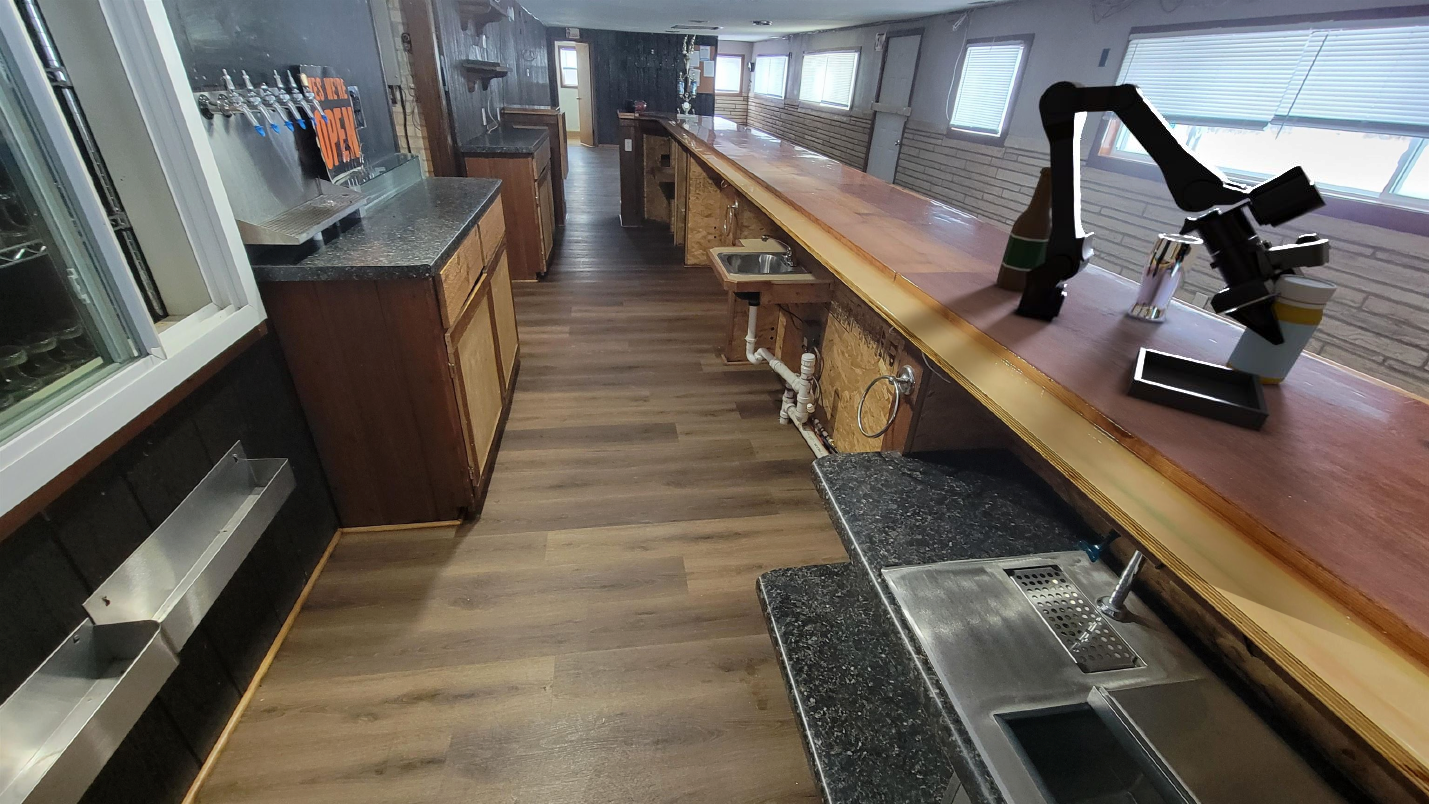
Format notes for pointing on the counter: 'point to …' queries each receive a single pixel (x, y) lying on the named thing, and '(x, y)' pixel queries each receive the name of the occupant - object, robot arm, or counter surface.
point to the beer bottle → (1028, 237)
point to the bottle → (1284, 329)
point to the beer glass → (1164, 275)
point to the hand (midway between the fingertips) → (1287, 339)
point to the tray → (1199, 388)
